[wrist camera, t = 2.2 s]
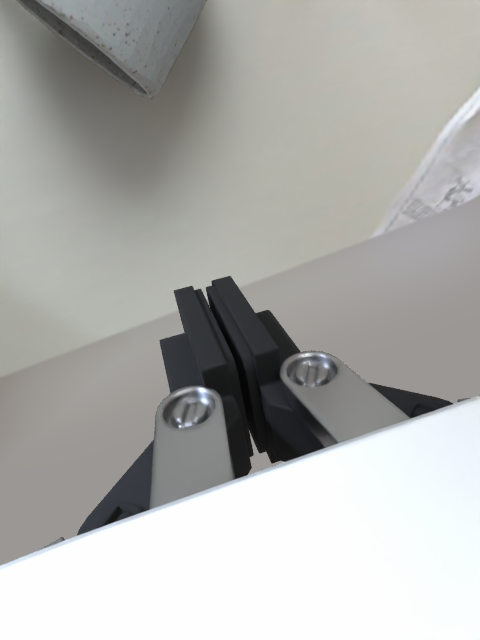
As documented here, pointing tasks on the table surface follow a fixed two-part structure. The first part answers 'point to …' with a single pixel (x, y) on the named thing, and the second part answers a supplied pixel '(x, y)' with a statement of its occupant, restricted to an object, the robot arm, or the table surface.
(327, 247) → the table surface
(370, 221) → the table surface
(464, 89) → the table surface
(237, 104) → the table surface
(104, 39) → the ceramic mug
